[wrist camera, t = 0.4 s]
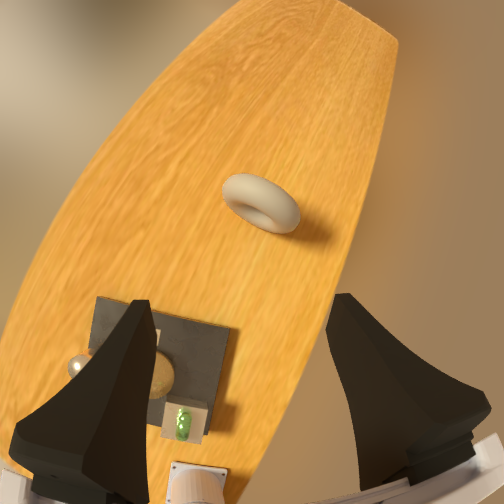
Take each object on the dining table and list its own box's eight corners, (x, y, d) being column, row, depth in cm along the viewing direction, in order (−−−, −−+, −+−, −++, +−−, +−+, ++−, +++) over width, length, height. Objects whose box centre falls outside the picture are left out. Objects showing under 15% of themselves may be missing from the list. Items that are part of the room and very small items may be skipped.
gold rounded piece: (178, 354, 36) (176, 368, 29) (170, 398, 35) (167, 420, 28) (90, 331, 34) (71, 339, 27) (84, 375, 33) (65, 390, 26)
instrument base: (206, 430, 37) (210, 451, 31) (85, 401, 34) (71, 417, 28) (228, 327, 39) (235, 333, 33) (100, 296, 36) (85, 297, 30)
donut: (213, 206, 40) (220, 180, 31) (226, 185, 41) (237, 154, 31) (278, 244, 42) (305, 231, 32) (290, 222, 42) (319, 203, 32)
